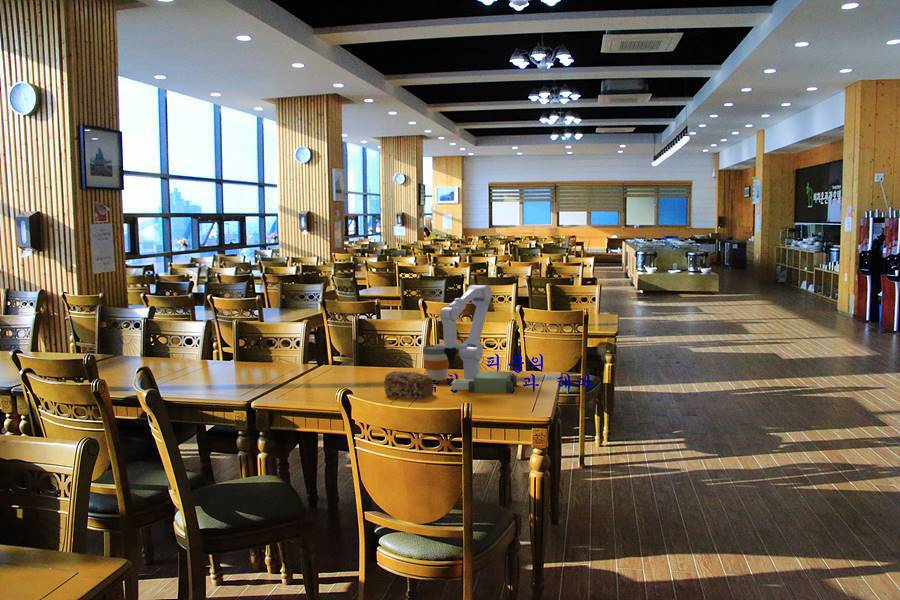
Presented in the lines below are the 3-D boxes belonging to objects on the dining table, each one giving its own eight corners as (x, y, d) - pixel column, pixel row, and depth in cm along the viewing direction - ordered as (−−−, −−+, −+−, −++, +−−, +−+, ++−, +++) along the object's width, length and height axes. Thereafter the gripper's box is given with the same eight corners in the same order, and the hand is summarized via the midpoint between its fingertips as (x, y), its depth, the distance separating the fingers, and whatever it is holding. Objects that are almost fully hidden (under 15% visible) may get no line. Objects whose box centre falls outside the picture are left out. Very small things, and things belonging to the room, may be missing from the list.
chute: (455, 386, 335) (455, 379, 335) (477, 386, 333) (477, 379, 333) (451, 389, 328) (451, 382, 328) (474, 389, 326) (474, 382, 326)
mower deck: (476, 384, 338) (476, 371, 338) (517, 384, 334) (516, 371, 334) (468, 393, 321) (468, 379, 321) (511, 393, 317) (510, 379, 317)
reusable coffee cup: (452, 375, 361) (450, 344, 359) (449, 381, 348) (448, 348, 347) (425, 376, 362) (424, 344, 360) (422, 381, 349) (420, 349, 348)
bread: (384, 396, 322) (382, 373, 321) (398, 391, 331) (397, 368, 330) (421, 400, 312) (420, 376, 312) (435, 394, 322) (434, 371, 321)
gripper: (431, 336, 332) (433, 367, 333) (464, 335, 328) (465, 367, 330) (435, 333, 339) (437, 364, 340) (467, 333, 335) (469, 364, 336)
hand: (451, 365), depth 335 cm, fingers closed
